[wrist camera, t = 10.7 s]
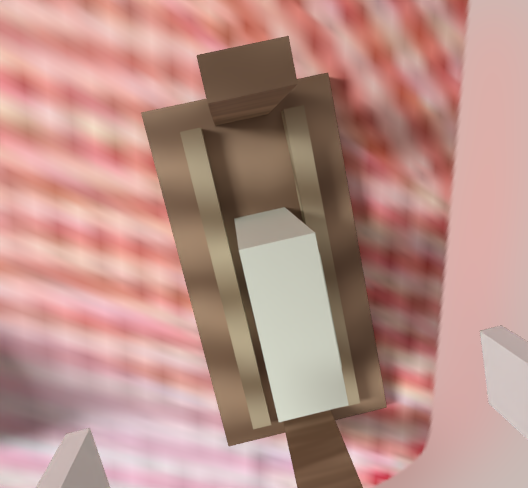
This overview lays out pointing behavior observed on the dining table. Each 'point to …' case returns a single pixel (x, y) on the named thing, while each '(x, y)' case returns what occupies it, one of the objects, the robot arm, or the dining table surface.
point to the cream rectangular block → (291, 313)
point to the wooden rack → (256, 201)
